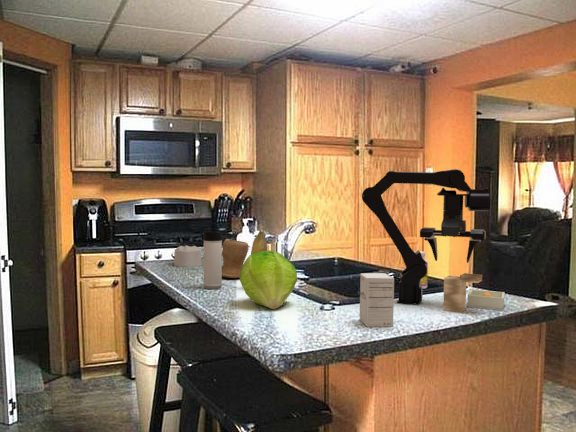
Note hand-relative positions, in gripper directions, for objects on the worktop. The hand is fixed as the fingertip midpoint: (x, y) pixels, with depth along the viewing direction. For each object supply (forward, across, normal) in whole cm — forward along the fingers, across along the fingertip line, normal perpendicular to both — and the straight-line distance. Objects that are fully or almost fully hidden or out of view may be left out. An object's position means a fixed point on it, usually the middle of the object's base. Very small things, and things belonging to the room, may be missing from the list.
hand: (451, 261), depth 161 cm
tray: (+13, +10, +3) cm, 17 cm away
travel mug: (+13, -79, -10) cm, 81 cm away
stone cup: (+13, -85, +13) cm, 87 cm away
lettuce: (+13, -50, -25) cm, 57 cm away
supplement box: (+13, -15, -33) cm, 39 cm away
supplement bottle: (+13, -14, +23) cm, 30 cm away
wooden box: (+13, +4, -8) cm, 16 cm away
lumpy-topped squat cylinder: (+13, -119, +32) cm, 124 cm away
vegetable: (+13, -64, -4) cm, 65 cm away
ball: (+11, +10, +4) cm, 15 cm away
